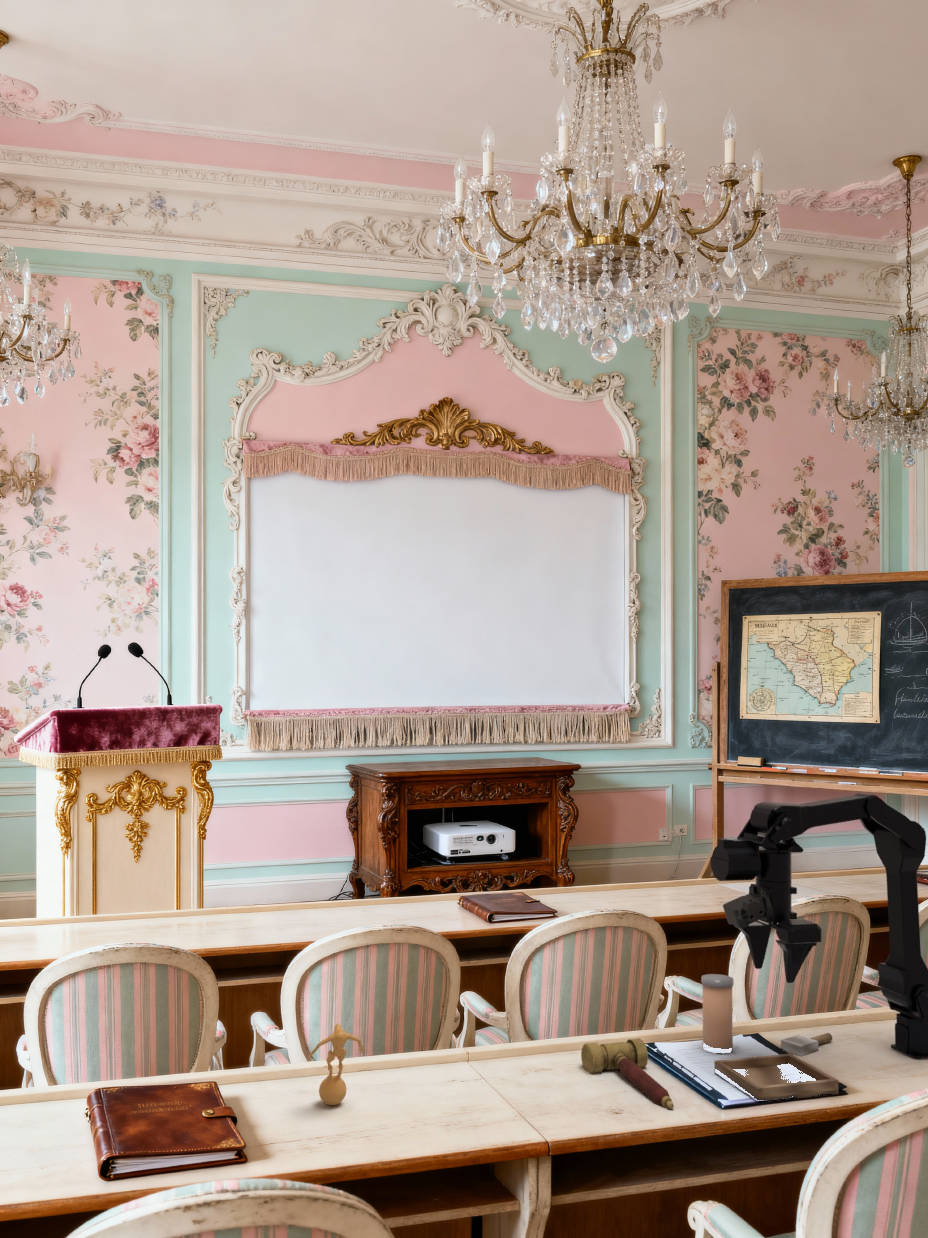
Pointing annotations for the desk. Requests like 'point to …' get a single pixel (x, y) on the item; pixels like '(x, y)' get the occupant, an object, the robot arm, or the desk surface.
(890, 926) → the robot arm
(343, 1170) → the desk surface
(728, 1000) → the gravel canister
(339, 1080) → the figurine
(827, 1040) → the mallet
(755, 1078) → the walnut tray
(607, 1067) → the gavel
